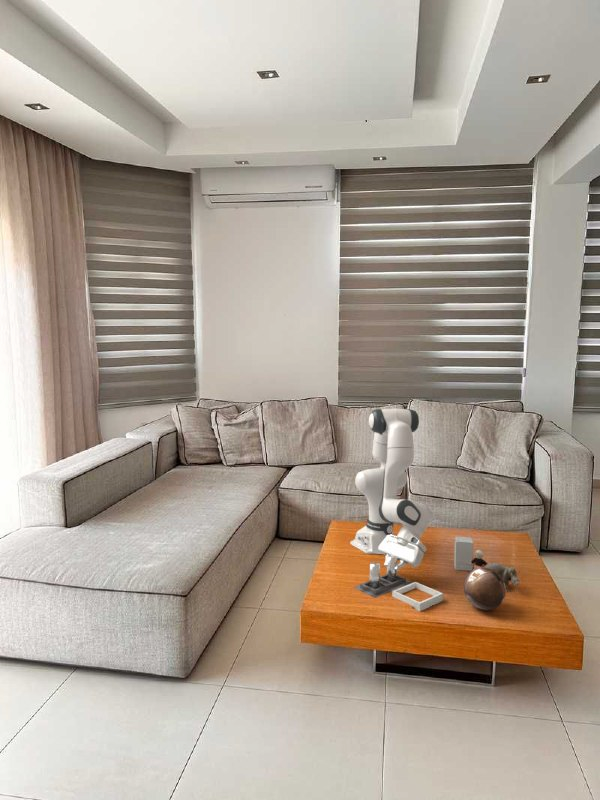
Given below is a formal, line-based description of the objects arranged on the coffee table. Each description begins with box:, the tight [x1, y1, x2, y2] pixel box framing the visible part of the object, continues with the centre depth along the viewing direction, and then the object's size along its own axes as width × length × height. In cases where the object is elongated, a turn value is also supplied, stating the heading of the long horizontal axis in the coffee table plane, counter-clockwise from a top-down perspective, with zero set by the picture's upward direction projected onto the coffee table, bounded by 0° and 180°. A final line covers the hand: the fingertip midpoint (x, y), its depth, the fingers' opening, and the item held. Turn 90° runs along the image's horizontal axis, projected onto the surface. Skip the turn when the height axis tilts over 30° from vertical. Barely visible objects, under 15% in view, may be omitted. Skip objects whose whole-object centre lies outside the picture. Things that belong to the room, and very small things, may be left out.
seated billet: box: [369, 561, 381, 589], centre depth 238 cm, size 4×4×10 cm
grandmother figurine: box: [470, 549, 488, 570], centre depth 248 cm, size 8×4×13 cm, turn 68°
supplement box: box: [453, 536, 474, 572], centre depth 261 cm, size 7×7×13 cm
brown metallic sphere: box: [463, 567, 507, 611], centre depth 223 cm, size 15×15×15 cm
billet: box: [386, 555, 398, 582], centre depth 244 cm, size 4×4×10 cm
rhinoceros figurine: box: [483, 562, 521, 592], centre depth 242 cm, size 8×14×15 cm
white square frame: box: [391, 581, 444, 612], centre depth 230 cm, size 14×14×3 cm
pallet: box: [353, 573, 414, 599], centre depth 242 cm, size 12×22×2 cm, turn 129°
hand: (390, 568), depth 244 cm, fingers closed on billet, 4 cm apart
